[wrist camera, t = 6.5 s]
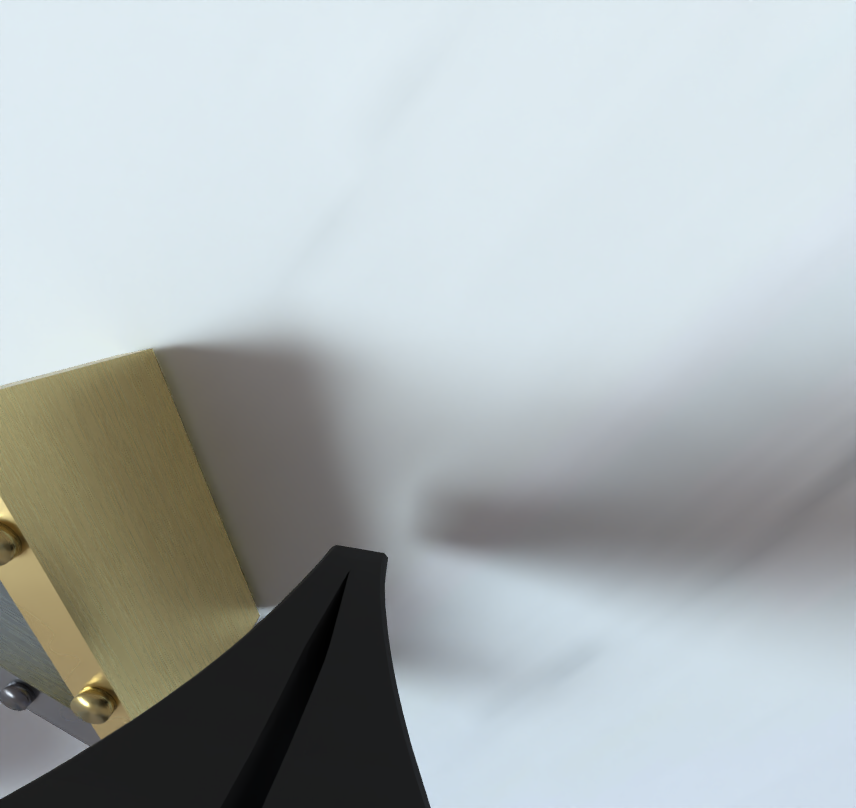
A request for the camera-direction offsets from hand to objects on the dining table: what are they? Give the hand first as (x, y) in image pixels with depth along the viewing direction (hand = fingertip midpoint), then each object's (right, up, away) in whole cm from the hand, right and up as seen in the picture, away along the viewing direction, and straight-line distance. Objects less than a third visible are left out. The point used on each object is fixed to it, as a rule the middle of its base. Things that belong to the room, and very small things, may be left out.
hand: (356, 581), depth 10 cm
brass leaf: (-5, +2, +2) cm, 6 cm away
